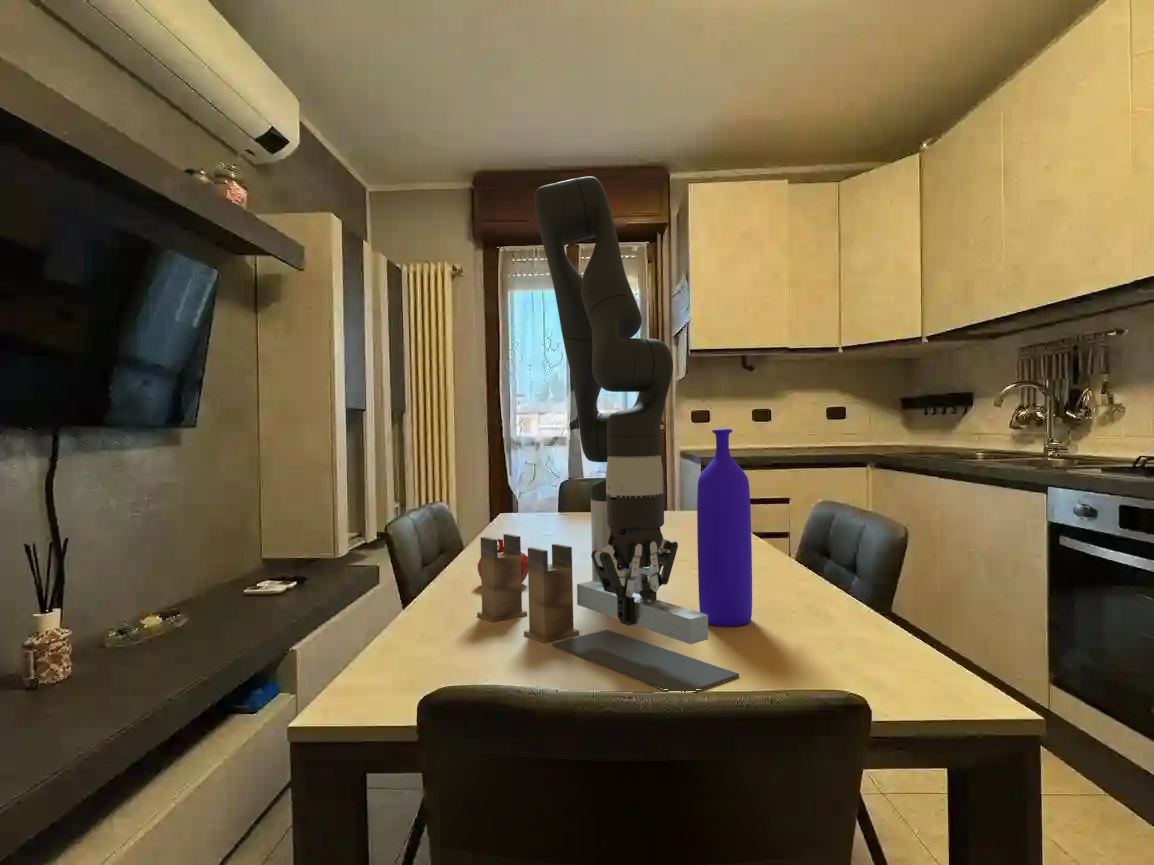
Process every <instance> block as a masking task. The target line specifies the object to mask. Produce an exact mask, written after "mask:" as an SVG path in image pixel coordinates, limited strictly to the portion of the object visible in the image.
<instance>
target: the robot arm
mask: <svg viewBox="0 0 1154 865" xmlns="http://www.w3.org/2000/svg"><path fill="white" fill-rule="evenodd" d="M533 201H534V202H533V203H534V212H535V218H536V221H537V225H538V226H537V227H538V230H539V234H540V237H541V238H540V239H541V242H542V245H543V249H544V250H543V251H544V252H545V253H544V254H545V257H546V261H547V264H548V269H549V272H550V273H549V274H550V277H551V280H552V285H553V291H554V296H555V300H556V307H557V312H558V318H559V323H560V324H559V325H560V330H561V336H562V340H563V345H564V351H565V356H566V359H567V364H568V367H569V371H570V372H569V373H570V375H571V381H572V386H573V391H574V397H575V404H576V412H577V420H578V428H579V429H578V430H579V431H578V432H579V437H580V443H581V448H582V452H583V454H584V456H585V458H586V459H587V460H588V461H590V462H592V463H593V462H594V463H606V470H605V479H603V480H600V481H596V482H595V483H593V484H591V486H590V519H591V520H590V521H591V522H590V524H591V527H590V528H591V532H590V533H591V555H590V556H591V571H592V572H591V576H592V577H591V578H592V579H591V581H596V582H599V583H602V586H603V588H604V590H605V591H607V592H611V593H615V594H616V595H617V608H618V609H617V611H618V612H617V614H618V619H617V620H619V622H620V623H621V624H622V625H625V626H627V627H630V626H633V625H634V623H635V617H634V597H633V596H632V595H633V593H636V594H640V595H643V596H646V597H649V598H653V599H657V600H658V598H657V591H659V589H660V587H661V586H662V585H664V586H666V585H667V584H668V583H669V580H670V577H671V573H672V570H673V565H674V563H675V558H676V554H677V551H678V548H679V544H678V542H677V541H674V540H668V539H665V538H664V536H663V533H662V531H661V527H663V526H664V523H665V495H664V494H665V492H664V491H665V490H664V470H663V469H664V468H663V462H662V456H661V455H662V441H661V440H662V439H661V438H662V437H661V434H662V433H661V424H662V419H663V415H664V410H665V406H666V401H667V398H668V392H669V389H670V385H671V382H672V378H673V372H674V360H673V355H672V353H671V351H670V348H669V347H668V345H667V344H666V343H665V342H664V341H663V340H660V339H656V338H638V337H637V338H634V336H635V335H636V334H637V333H638V332H639V331H640V328H641V326H642V322H643V319H642V314H641V311H640V308H639V305H638V303H637V300H636V298H635V295H634V292H633V290H632V287H631V284H630V282H629V281H628V276H627V274H626V270H625V267H624V263H623V258H622V257H623V256H622V252H621V248H620V244H619V239H618V235H617V231H616V226H615V223H614V218H613V215H612V211H611V207H610V203H609V200H608V196H607V193H606V191H605V189H604V186H603V184H602V183H601V181H600V180H599V179H598V178H597V177H595V176H590V175H589V176H582V177H577V178H571V179H567V180H562V181H558V182H555V183H550V184H545V185H542V186H540V187H537V189H535V192H534V196H533ZM594 238H595V244H594V248H593V251H592V253H591V256H590V258H589V260H588V263H587V265H586V267H585V270H584V272H583V275H581V274H580V273H579V272H578V271H577V269H576V268H575V267H574V265H573V263H572V262H571V261H570V259H569V257H568V256H567V253H566V251H565V246H566V245H569V244H574V243H579V242H581V241H587V240H591V239H594ZM602 389H603V390H604V391H607V392H611V393H613V392H614V393H615V392H616V393H631V392H632V393H637V392H638V395H637V397H636V398H637V399H636V401H635V402H634V405H633V406H632V407H630V408H627V409H622V410H617V411H615V412H600V411H599V410H598V399H599V395H600V392H601V390H602ZM634 626H635V625H634Z"/></svg>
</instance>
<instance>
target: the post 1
mask: <svg viewBox="0 0 1154 865" xmlns="http://www.w3.org/2000/svg"><path fill="white" fill-rule="evenodd" d="M479 539H480V558H481V577H480V580H481V581H480V582H481V611H477V612H476V616H477V617H478V618H481V619H483V620H486V621H489V622H491V623H497V622H503V621H508V620H513V619H516V618H522V617H527V616H528V611H526V610H523V596H522V595H523V594H522V583H521V552H522V547H521V544H522V543H521V536H520V535H515V534H510V533H504V534H503V538H502V539H503V547H504V552H501V553H498V547H497V545H498V538H493V537H488V536H487V537H486V536H481V537H480V538H479Z"/></svg>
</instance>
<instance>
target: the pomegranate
mask: <svg viewBox="0 0 1154 865" xmlns="http://www.w3.org/2000/svg"><path fill="white" fill-rule="evenodd" d="M497 543H498V544H497V547H498V553H501V552H504V538H497ZM477 572H478V575H479V576H478V577H480V578H481V557H480V558H479V560H478V563H477ZM527 576H528V555H526V554H525V553H524V552H523V551H521V584H523V583H524V581H525V580H526V578H528V577H527Z"/></svg>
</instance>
